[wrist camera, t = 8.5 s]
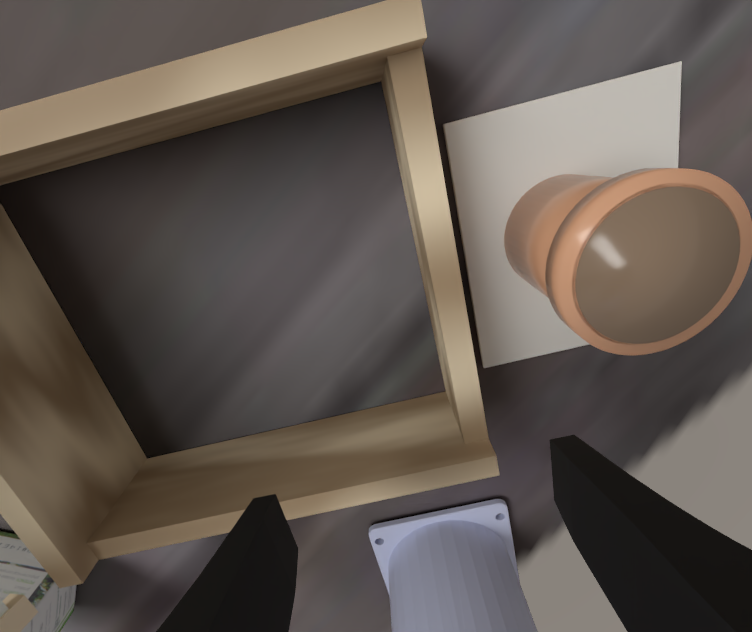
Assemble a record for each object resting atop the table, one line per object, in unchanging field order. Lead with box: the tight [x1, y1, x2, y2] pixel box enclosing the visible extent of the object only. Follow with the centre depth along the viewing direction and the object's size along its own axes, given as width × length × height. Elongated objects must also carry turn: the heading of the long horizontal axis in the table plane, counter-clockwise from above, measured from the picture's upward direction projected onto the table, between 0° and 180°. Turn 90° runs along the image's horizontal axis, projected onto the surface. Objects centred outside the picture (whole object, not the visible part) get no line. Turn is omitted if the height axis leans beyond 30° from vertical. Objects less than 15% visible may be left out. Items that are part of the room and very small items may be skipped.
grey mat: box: [443, 61, 682, 368], centre depth 17 cm, size 11×9×1 cm
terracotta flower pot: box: [504, 168, 752, 355], centre depth 14 cm, size 6×6×6 cm
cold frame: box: [0, 0, 499, 588], centre depth 15 cm, size 16×18×6 cm
